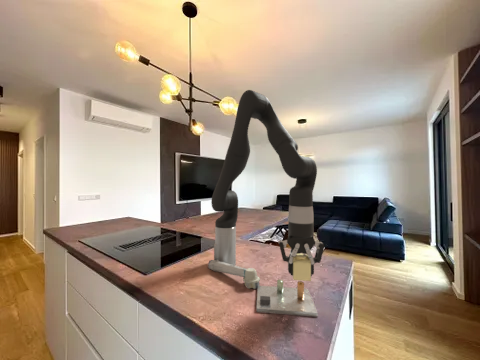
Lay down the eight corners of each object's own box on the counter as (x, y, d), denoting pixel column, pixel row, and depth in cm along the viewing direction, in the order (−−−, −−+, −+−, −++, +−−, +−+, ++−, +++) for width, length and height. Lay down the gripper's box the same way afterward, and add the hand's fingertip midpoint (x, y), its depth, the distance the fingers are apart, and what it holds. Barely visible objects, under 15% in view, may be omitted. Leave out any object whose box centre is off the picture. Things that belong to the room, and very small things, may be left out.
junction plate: (256, 312, 59) (256, 291, 59) (257, 288, 72) (257, 271, 72) (317, 316, 57) (317, 295, 57) (307, 291, 70) (307, 273, 70)
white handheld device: (215, 257, 91) (261, 265, 74) (216, 273, 90) (263, 284, 74) (206, 261, 87) (252, 270, 71) (207, 277, 86) (254, 290, 70)
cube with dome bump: (293, 280, 62) (293, 258, 62) (291, 272, 67) (291, 252, 67) (310, 281, 61) (310, 258, 61) (307, 273, 66) (307, 253, 66)
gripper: (278, 222, 61) (278, 279, 61) (328, 223, 60) (328, 282, 60) (276, 217, 69) (276, 268, 69) (321, 218, 67) (321, 270, 67)
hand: (300, 274), depth 64 cm, fingers closed on cube with dome bump, 5 cm apart
